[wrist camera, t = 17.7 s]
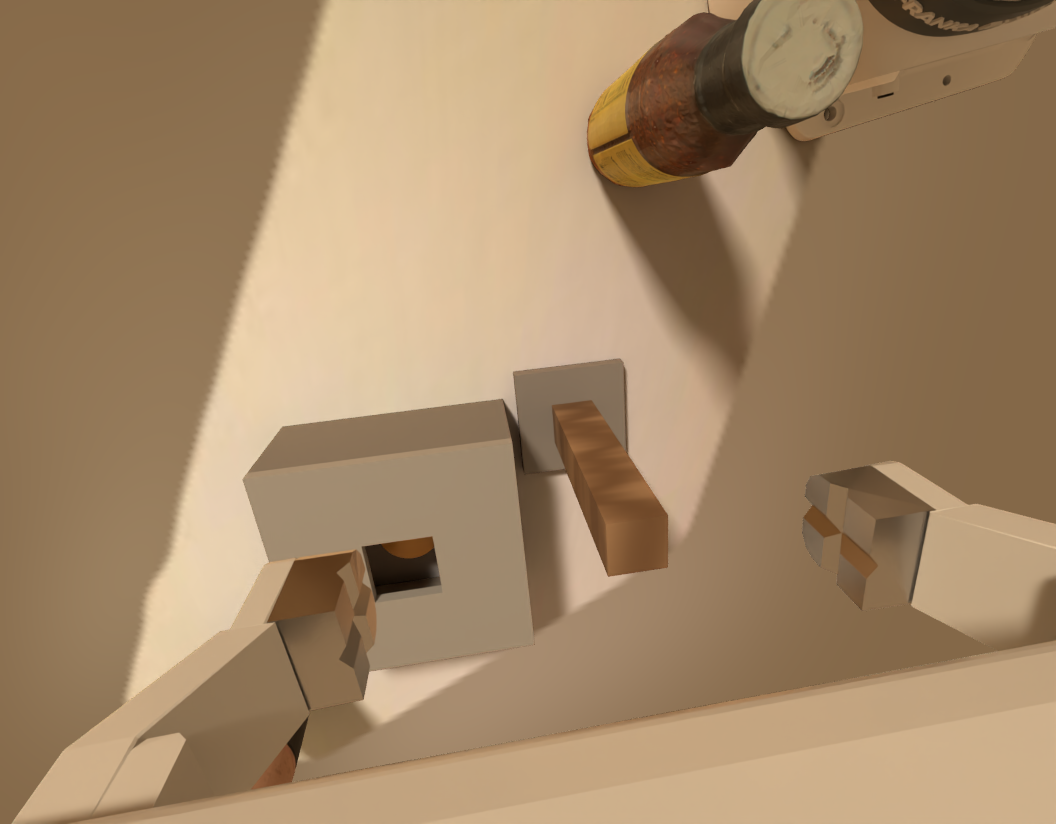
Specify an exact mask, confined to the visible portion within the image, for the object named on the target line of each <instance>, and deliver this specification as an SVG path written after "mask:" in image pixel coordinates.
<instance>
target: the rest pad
mask: <svg viewBox="0 0 1056 824" xmlns="http://www.w3.org/2000/svg"><path fill="white" fill-rule="evenodd" d="M513 376H514V385H515V395H516V404H517V414H518V423H519V433H520V442H521V452H522V461H523V470H524V474H532V473H540V472H547V471H554V470H561V469H565V467H564V464H563V462H562V459H561V457H560V454H559V452H558V449H557V447H556V444H555V440H554V427H553V415H552V405H557V404H565V403H573V402H581V401H588V400H592V401H593V403H594V404H595V406H596V407H597V409H598V410H599V412H600V413H601V415H602V416H603V418H604V419H605V421H606V422H607V424H608V425H609V427H610V429H611V430H612V432H613V433H614V435H615V436H616V438H617V439H618V441H619V442H620V444H621V445H622V447H623V448H624V450H625V451H626V437H625V400H624V362H623V361H622V360H621V359H613V360H605V361H597V362H589V363H581V364H572V365H564V366H556V367H548V368H540V369H532V370H524V371H515V372H513Z"/></svg>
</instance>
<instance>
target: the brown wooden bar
mask: <svg viewBox="0 0 1056 824" xmlns="http://www.w3.org/2000/svg"><path fill="white" fill-rule="evenodd" d="M552 415H553V427H554V440H555V444H556V447H557V449H558V452H559V454H560V457H561V459H562V462H563V464H564V467H565V469H566V472H567V474H568V477H569V479H570V482H571V484H572V487H573V489H574V492H575V494H576V497H577V499H578V502H579V504H580V507H581V509H582V512H583V515H584V517H585V520H586V522H587V525H588V527H589V530H590V532H591V535H592V537H593V540H594V542H595V545H596V547H597V550H598V552H599V555H600V557H601V560H602V562H603V565H604V567H605V570H606V572H607V575H608V577H609V576H615V575H622V574H628V573H635V572H641V571H648V570H654V569H661V568H667V567H668V515H667V513H666V512H665V510H664V509H663V507H662V506H661V504H660V503H659V501H658V500H657V498H656V497H655V495H654V493H653V492H652V490H651V489H650V487H649V486H648V484H647V483H646V481H645V480H644V478H643V477H642V475H641V474H640V472H639V471H638V469H637V468H636V466H635V465H634V463H633V462H632V460H631V459H630V457H629V456H628V454H627V453H626V451H625V450H624V448H623V447H622V445H621V444H620V442H619V441H618V439H617V438H616V436H615V435H614V433H613V432H612V430H611V429H610V427H609V425H608V424H607V422H606V421H605V419H604V418H603V416H602V415H601V413H600V412H599V410H598V409H597V407H596V406H595V404H594V403H593V401H592V400H588V401H581V402H573V403H565V404H557V405H552Z"/></svg>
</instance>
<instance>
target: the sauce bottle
mask: <svg viewBox="0 0 1056 824" xmlns="http://www.w3.org/2000/svg"><path fill="white" fill-rule="evenodd" d="M863 30H864V28H863V22H862V17H861V13H860V10H859V7H858V5H857V2H856V0H753V1H752V2H751V3H749V4H748V6H747V7H746V8H745V9H744V10H743V12H742V13H741V15H740V17H739V18H738V19H737V20H732V19H726V18H721V17H718V16H716V15H714V14H712V13H705V12H703V13H699V14H696V15H693V16H692V17H691V18H689V19H688V20H687V21H685V22H684V23H683V24H681V25H680V26H679V27H678V28H676V29H674V30H673V31H672V32H671V33H670V34H667V35H666V36H665V38H663V39H662V40H660V41H659V42H657V43H656V44H655V45H654V46H653V47H651V48H650V49H649V50H648V51H647V52H646V53H645V54H644V55H643V56H642V57H641V58H640V59H639V60H638V61H637V62H636V63H635V64H634V65H633V66H631V67H630V68H629V69H628V70H627V71H626V72H625V73H624V74H623V75H621V76H620V77H619V78H618V79H617V80H616V81H615V82H614V83H613V84H611V85H610V86H609V87H608V88H607V89H606V90H605V91H604V92H603V94H602V95H601V96H600V98H599V99H598V101H597V103H596V105H595V107H594V109H593V110H592V112H591V114H590V116H589V119H588V129H587V145H588V152H589V157H590V159H591V161H592V163H593V165H594V166H595V168H596V169H597V170H598V171H599V173H600V174H602V175H604V176H605V177H606V178H607V179H609V180H610V181H612V182H613V183H614V184H618V185H621V186H629V187H643V186H648V185H653V184H659V183H665V182H670V181H676V180H680V179H685V178H690V177H694V176H700V175H703V174H706V173H708V172H711V171H714V170H718V169H721V168H726V167H730V166H731V165H732V164H733V163H734V161H735V160H736V159H737V158H738V156H739V155H740V154H741V152H742V151H743V150H744V149H745V147H746V146H747V145H748V143H749V142H750V141H751V140H752V139H753V137H754V136H755V135H756V133H757V131H759V130H761V129H763V128H764V127H766V126H767V127H772V128H784V127H788V126H791V125H794V124H797V123H799V122H801V121H804V120H806V119H809V118H812V117H814V116H817V115H818V114H819V113H821V112H822V111H824V110H826V109H827V108H828V107H830V106H831V105H832V104H833V103H835V102H836V101H837V100H838V99H839V97H840V96H841V95H842V94H843V92H844V90H845V89H846V87H847V85H848V84H849V82H850V81H851V79H852V76H853V74H854V72H855V70H856V68H857V64H858V61H859V58H860V54H861V50H862V46H863Z"/></svg>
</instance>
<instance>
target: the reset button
mask: <svg viewBox="0 0 1056 824" xmlns="http://www.w3.org/2000/svg"><path fill="white" fill-rule="evenodd" d="M381 545H382V547H383V548H384V549H385V550H386V551H388V552H389V553H390V554H392V555H394V556H397V557H401V558H416V557H420V556H422V555H424V554H426V553H428V552H429V551H430V550H432V549H433V547H434V542H433V536H431V537H424V538H417V539H410V540H403V541H396V542H389V543H383V544H381Z"/></svg>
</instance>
